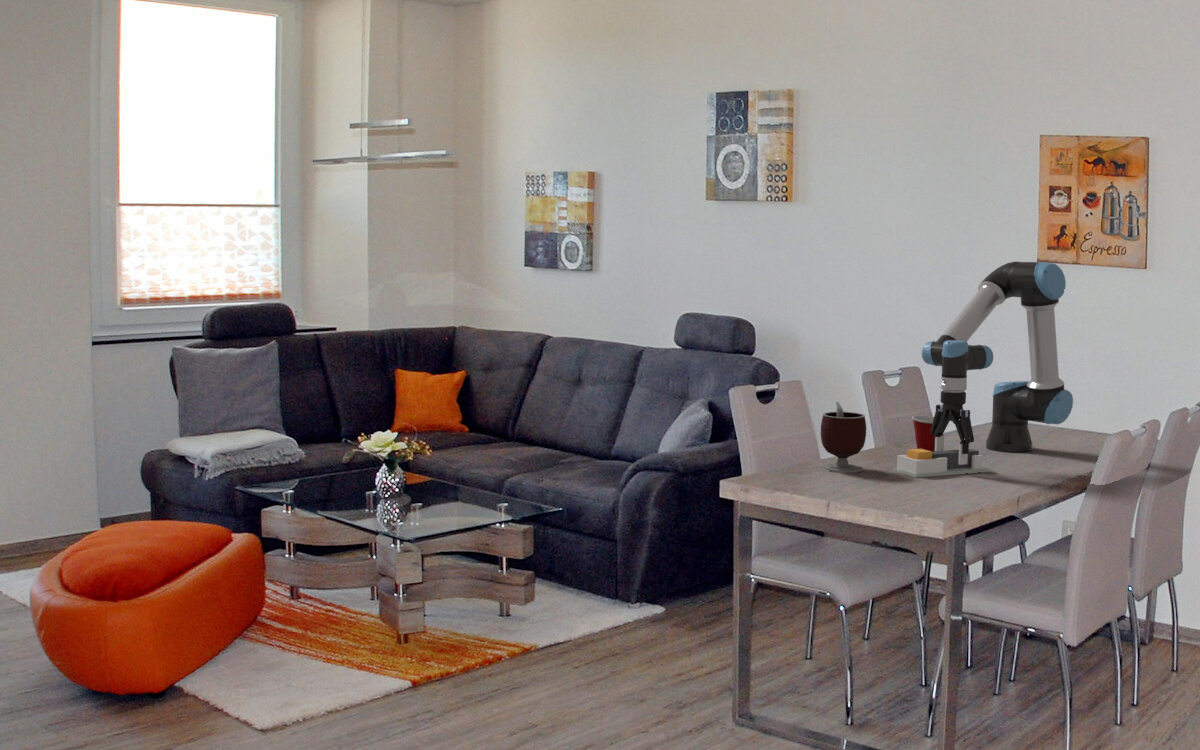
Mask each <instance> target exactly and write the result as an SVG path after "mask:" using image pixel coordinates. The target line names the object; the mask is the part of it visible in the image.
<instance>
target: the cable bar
mask: <svg viewBox="0 0 1200 750" xmlns="http://www.w3.org/2000/svg"><path fill="white" fill-rule="evenodd" d="M968 451H969V453H968V460H967V464H963V465H959V464H958V463H959V449H951V450H949V449H948V450H944V451H934V452H931V451H928V450H924V449H917V448H911V449H907V454H906V455H907V457H909V458H913V459H916V460H923V459H937V458H943V457H945V458H947V469H957V468H970V467H971V463H972V455H980V452H979V450H977V449H972V448H969V450H968Z"/></svg>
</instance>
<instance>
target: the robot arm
mask: <svg viewBox="0 0 1200 750" xmlns="http://www.w3.org/2000/svg"><path fill="white" fill-rule="evenodd" d="M1066 283H1067V281H1066V277H1065V274H1064V272H1063V270H1062V268H1061V267H1060V266H1059V265H1057V264H1056V263H1054V262H1045V261H1011V262H1007V263H1005V264H1002V265H1001V266H999V267H997V268H996V269H994V270H993V271H992V272H990V273H989V274H988V275H987V276H986V277H985V278H984V279H983V280H981V282H980V283H979V285H978V286H977V292H976V293H975V294H974V296H973V297H972V298H971V299H970V300H969V301H968V302H967V304H966V305H965V306H964V308H962V309H961V311H960V313H958V315H957V316H956V318H954V320H953V321H952V322H951V323H950V324H949V326H948V327H946V329H945V330H944V332H943V333H942V334H941V335H940V336H939V338H938V339H937V340H936V341H934V340H933V341H928V342H926V343H924V345H923V346H922V349H921V358H922V360H923V362H924V363H925V364H927V365H930V366H934V367H941V381H940V382H941V383H940V384H941V386H940V390H941V392H940V403H941V404H936V406H935V413H934V416H933V417H934V419H933V423H932V427H931V430H930V433H931V434H933V435H934V437H935V451H945V450H944V449H945V448H944V447H945V445H944V444H945V437H944V436H945V435H944V433H945V430H946V429H947V427H948V425H949V423H950V422H952V423H953V424H954V425H955V429H956V431H957V434H958V437H959V440H960V441H959V443H958V445H959V446H958V450H959V463H958V464H959V465H963V464H967V460H968V453H969V451H968V450H969V449H970V444H971V443H974V442H975V437H974V432H973V431H974V430H973V428H972V427H973V426H972V422H971V410H970V409H964V405H965V404H966V401H967V392H966V390H967V382H968V381H967V379H968V375H967V374H968V371H972V370H973V371H974V370H975V371H976V370H980V371H981V370H984V369H988V368H989V367H991V366H992V364H993V362H994V353H993V351H992V348H991V347H989V346H988V345H986V344H976V345H975V344H972V345H971V344H968V341H969V340H970V339H971V338H972V336H973V335H974V334H975V332H976V331H977V330H978V329H979V328H980V326H981V325H982V324H983V322H984V321H985V320H986V319H987V318H988V316H990V314H991V313H992V312H993V310H994V309H995V308H996V307H997V306H999V305H1001V304H1003V303H1004V302H1005V301H1006V299H1010V298H1020V305H1021V307H1023V308H1024V309H1025V310H1026V320H1027V322H1026V323H1027V324H1026V325H1027V337H1028V348H1029V349H1028V351H1029V352H1028V353H1029V363H1030V364H1029V366H1030V378H1031V379H1030V380H1018V381H1017V380H1016V381H1015V380H1014V381H1004V382H1003V381H1001V382H997V383H996V384H994V387H993V394H992V397H993V398H992V417H991V419H992V421H991V427H990V430H989V432H988V436H987V438H986V441H985V448H986V449H989V450H993V451H998V452H1006V453H1008V452H1010V453H1017V452H1018V453H1022V452H1023V453H1024V452H1025V453H1026V452H1031V451H1033V441H1032V438H1031V434H1030V430H1029V422H1036V423H1043V424H1046V425H1060V424H1062V423H1064V422H1065V421H1067V419H1068V418H1069V416H1070V414H1071V413H1072V409H1073V404H1074V397H1073V394H1072V392H1071V391H1070V390H1068V389H1065V382H1064V381H1063V379H1061V378H1060V375H1059V361H1058V347H1057V344H1058V343H1057V332H1056V316H1055V313H1056V312H1055V307H1056V306H1057V305H1058V304H1059V302H1060V301H1059V299H1060V298H1062V296H1063V295H1064V294H1065V290H1066ZM934 429H936V430H934Z"/></svg>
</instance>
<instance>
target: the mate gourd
mask: <svg viewBox="0 0 1200 750" xmlns="http://www.w3.org/2000/svg"><path fill="white" fill-rule="evenodd" d="M835 404H836V411H827V412H823V413H822V418H821V423H820V439H821V440H820V441H821V444H822V446H823V448H824V450H825V451H826V452H827V453H829V454H831V455H833V456H835V457H836V458H837V460H836V463H826V464H824V465H822V466H821V468H822V467H823V468H824V469H826V470H829V471H828V472H830V471H834V472H833V473H838V472H840V473H841V474H853V473H854V474H855V473H860V472H863V466H860V465H858V464H852V463H849V460H848V458H850V457H852V456H854V455H858V454H859V453H860V452H861V451H862V450H863V448H864V446H865V443H866V437H867V422H866V417H865V416H866V415H865V414H863V413H860V412H854V411H853V412H850V411H844V410H843V407H842V406H841V404H840V402H839V401H836V402H835ZM826 470H825V471H826Z"/></svg>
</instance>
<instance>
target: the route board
mask: <svg viewBox="0 0 1200 750" xmlns="http://www.w3.org/2000/svg"><path fill="white" fill-rule="evenodd" d="M896 457H897V459H896V460H897V461H896V467H895V468H894V471H895V472H897V473H900V474H904V475H907V476H910V477H914V478H926V477H927V478H928V477H940V476H952V475H953V476H954V475H965V474H966V473H968V474H979V473H978V472H981V473H990V472H991V471H990V470H991V468H990V467H989V468H988V467H986V466H983V455H982V454H979V455H972V463H971V467H970V468H957V469H947V458H945V457H943V458H937V459H923V460H916V459H913V458H909V457H907V454H897V455H896Z"/></svg>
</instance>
